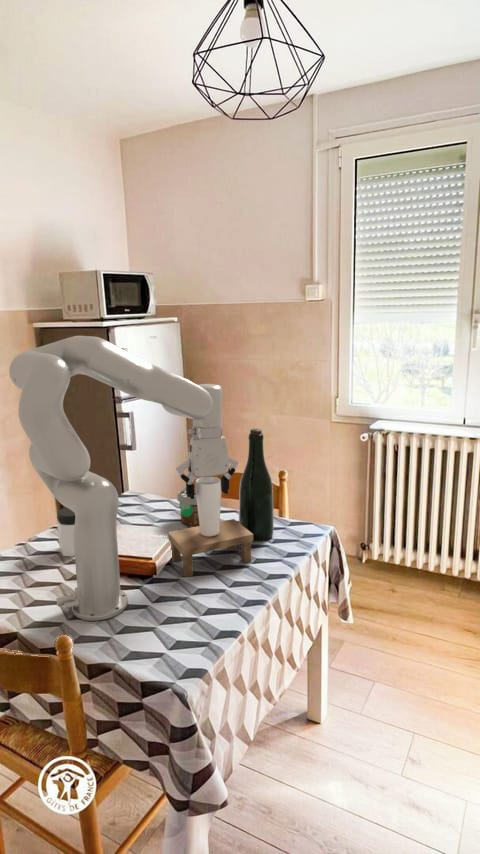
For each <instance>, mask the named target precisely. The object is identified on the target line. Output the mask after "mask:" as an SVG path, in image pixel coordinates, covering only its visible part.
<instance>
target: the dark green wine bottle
mask: <svg viewBox="0 0 480 854" xmlns="http://www.w3.org/2000/svg"><path fill="white" fill-rule="evenodd" d="M262 431H263V430H262V429H260V428H251V429H249V434H248V437H247V438H248V455H247V461H246V465H245V467H244V470H243V473H242V476H241V477H240V483H239V498H238V499H239V502H238V506H239V507H238V523H240V524H241V525H242V526H243V527H245V528H246V529H247V530H249V531H250V532H251V533H252V534H253V541H252V542H260V541H261V542H262V541H265V540H268V539H270V538H272V536H273V535H274V528H275V527H274V525H275V524H274V521H275V520H274V489H273V488H274V487H273V480H272V477H271V474H270V473H269V469H268V467H267V463H266V460H265V453H264V434H263V433H262Z"/></svg>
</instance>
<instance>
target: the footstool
mask: <svg viewBox="0 0 480 854" xmlns="http://www.w3.org/2000/svg"><path fill="white" fill-rule="evenodd" d="M219 527H220V531H219V534H217V535H216V536H212V537H206V536H203V535H201V534H200V526H197V527H188V528H183V529H178V530H172V531H169V532H167V540H168V541H169V542H170V551H171V550H172V560H171V562H172V563H174V562H175V563H178V561H179V562H182V574H183V576H184V577H185V578H188V577H193V576H194V570H193V569H194V566H193V565H194V564H193V562H194V561H193V556H194V555H200V554H203V553H207V552H211V551H215V550H216V551H217V550H220V549H225V548H228V549H229V550H235V549H237V546H238V545H240V559H241V561H242V562H243V563H244V564H245V563H249V562H251V561H252V542H254V541H253V534H252V533H251V532H250V531H249V530H247V529H246V528H245V527H243V526H242V525H241V524H240V523H239V521H238V520H236V519H235V518H232V519H226V520H222V521H221V520H220V525H219ZM181 555H182V557H181Z"/></svg>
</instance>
